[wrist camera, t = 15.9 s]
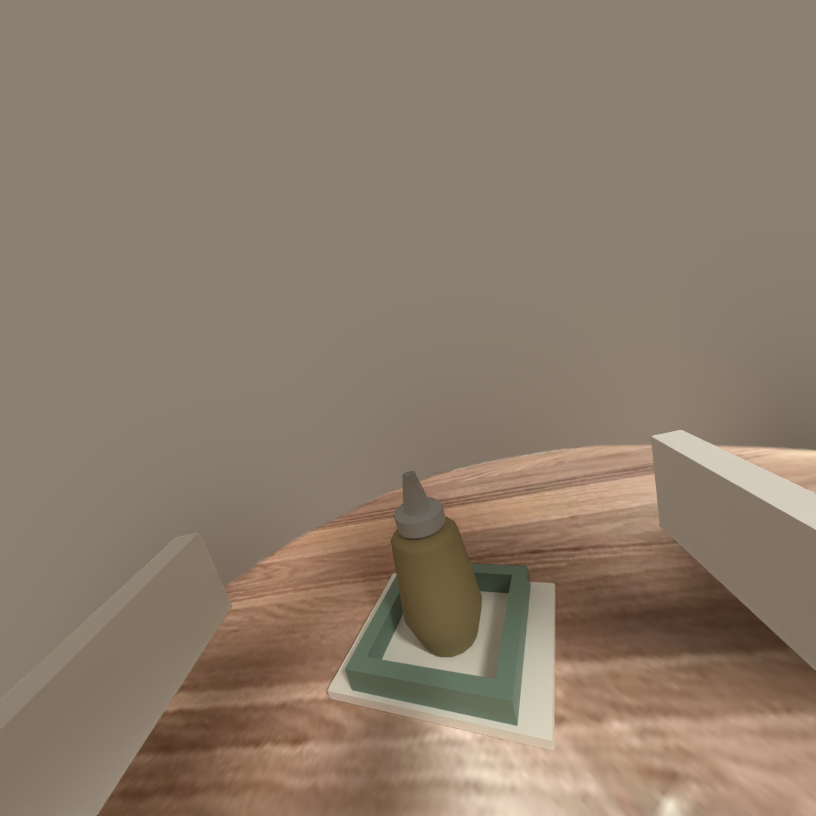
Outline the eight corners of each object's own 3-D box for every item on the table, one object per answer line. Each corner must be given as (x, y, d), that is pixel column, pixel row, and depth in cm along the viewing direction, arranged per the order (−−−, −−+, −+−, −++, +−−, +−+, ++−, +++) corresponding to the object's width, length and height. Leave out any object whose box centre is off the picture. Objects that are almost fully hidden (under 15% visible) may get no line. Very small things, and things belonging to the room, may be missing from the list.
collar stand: (555, 590, 42) (551, 564, 41) (554, 750, 28) (547, 714, 27) (395, 579, 50) (388, 556, 49) (330, 698, 36) (319, 669, 35)
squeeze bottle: (400, 625, 41) (356, 476, 37) (464, 592, 43) (430, 448, 39) (430, 686, 33) (380, 507, 29) (505, 642, 36) (469, 471, 32)
